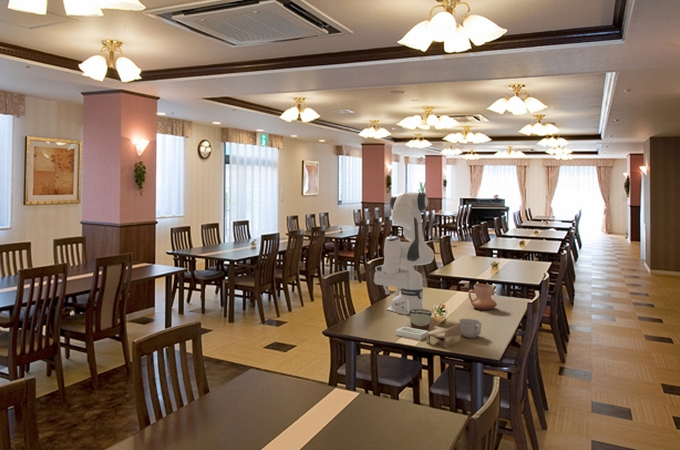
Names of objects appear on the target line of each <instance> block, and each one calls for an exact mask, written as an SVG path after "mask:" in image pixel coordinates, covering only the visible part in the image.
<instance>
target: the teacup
mask: <svg viewBox="0 0 680 450" xmlns="http://www.w3.org/2000/svg"><path fill="white" fill-rule="evenodd" d="M459 324H460V335H462V336H463V337H466V338H471V339H472V338H473V339H474V338H478V337H479V335H481V333H482V325H483V322H482V321H481V320H479V319H473V318H460V319H459Z"/></svg>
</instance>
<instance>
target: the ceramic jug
mask: <svg viewBox="0 0 680 450" xmlns="http://www.w3.org/2000/svg"><path fill="white" fill-rule="evenodd" d="M494 290H495V286H494V285H492V284H491V285H490V284H474V285H473V289H469V291H468V292H467V293H468V294H467V296H468V298H469V300H470V303H471V306H472V307H473V308H474V309H478V310H483V311H489V310H492V309H494V308H496V307H497V305H498V303H497V302H496V300H494V299H492V296H493V295H494V294H496V295H498V293H499V291H497V290H496V291H494ZM471 293H473V294H475V296H476V297H475V299H473V298H472V297H471V296H472V295H471Z"/></svg>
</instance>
